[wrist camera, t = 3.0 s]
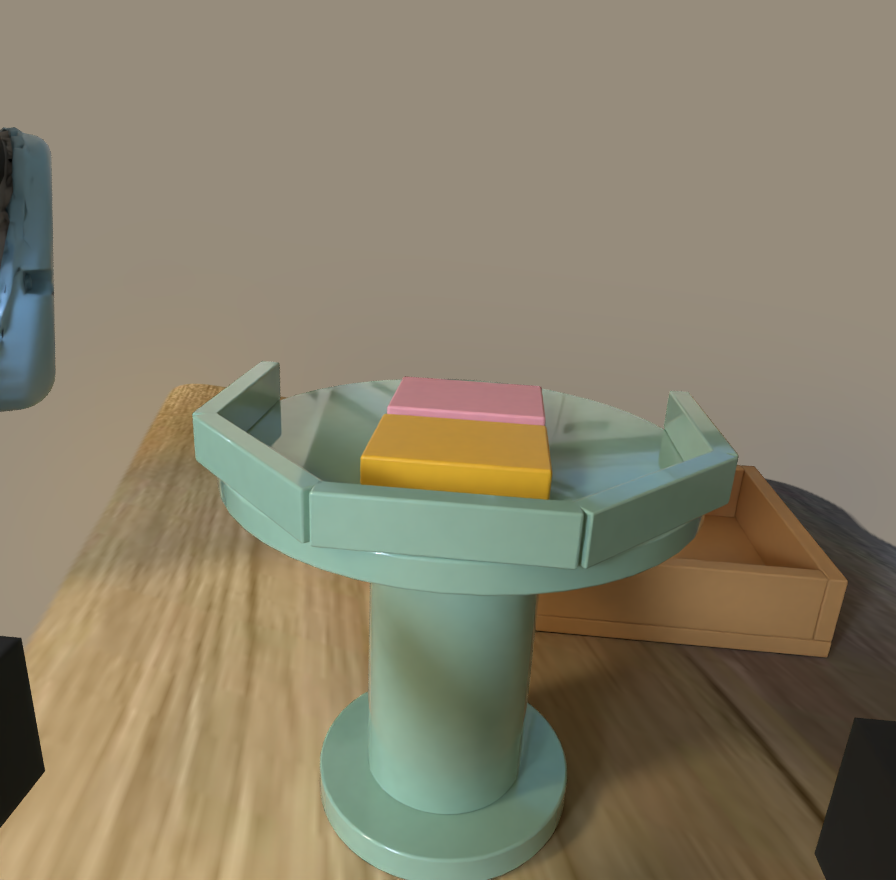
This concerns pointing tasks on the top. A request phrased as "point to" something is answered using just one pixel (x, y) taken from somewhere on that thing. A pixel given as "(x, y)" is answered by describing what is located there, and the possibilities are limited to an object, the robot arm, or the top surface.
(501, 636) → the green pedestal stand
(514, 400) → the sachet
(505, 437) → the sachet
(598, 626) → the box
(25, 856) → the top surface
